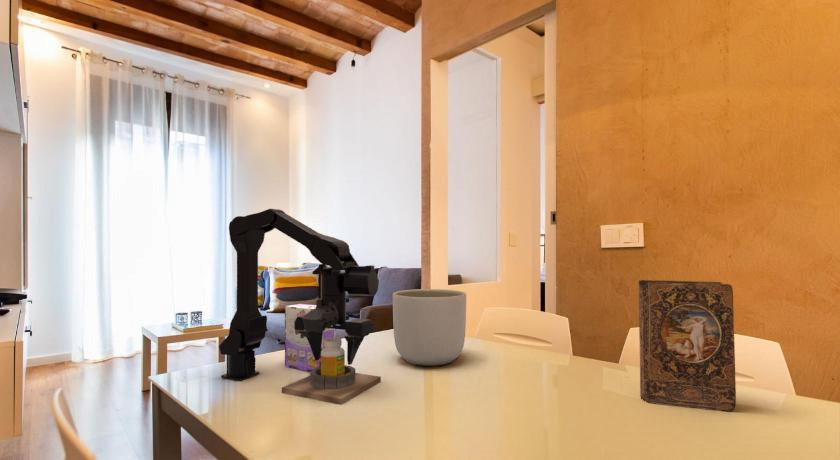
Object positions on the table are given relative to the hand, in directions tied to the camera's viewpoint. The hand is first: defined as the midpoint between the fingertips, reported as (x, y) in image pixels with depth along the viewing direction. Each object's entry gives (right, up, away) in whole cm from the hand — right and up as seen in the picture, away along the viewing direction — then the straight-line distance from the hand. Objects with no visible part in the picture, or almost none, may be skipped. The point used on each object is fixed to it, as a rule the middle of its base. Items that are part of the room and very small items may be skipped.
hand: (333, 362), depth 99 cm
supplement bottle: (0, -5, 0) cm, 5 cm away
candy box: (-9, -6, +15) cm, 19 cm away
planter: (+23, -7, +22) cm, 32 cm away
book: (+75, -6, -10) cm, 76 cm away
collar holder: (0, -6, 0) cm, 6 cm away
